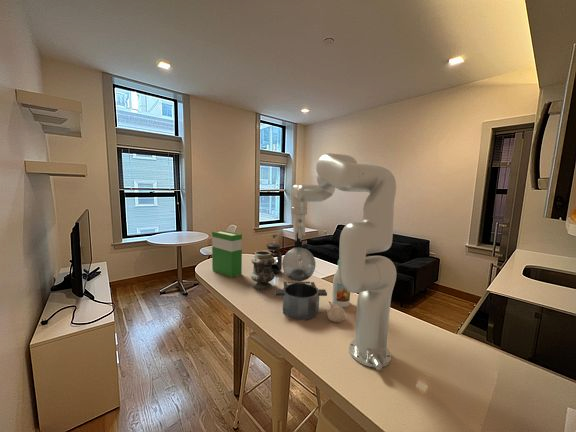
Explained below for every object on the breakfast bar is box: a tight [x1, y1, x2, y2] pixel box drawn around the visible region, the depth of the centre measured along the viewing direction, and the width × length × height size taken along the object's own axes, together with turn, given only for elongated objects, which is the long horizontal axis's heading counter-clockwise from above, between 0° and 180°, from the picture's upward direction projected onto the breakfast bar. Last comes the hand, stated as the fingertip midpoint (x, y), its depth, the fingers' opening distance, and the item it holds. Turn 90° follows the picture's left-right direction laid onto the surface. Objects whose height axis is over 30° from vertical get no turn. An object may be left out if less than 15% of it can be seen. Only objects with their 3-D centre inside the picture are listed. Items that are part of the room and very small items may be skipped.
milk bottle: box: [331, 259, 351, 308], centre depth 108 cm, size 8×8×20 cm
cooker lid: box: [282, 247, 316, 284], centre depth 111 cm, size 16×15×3 cm
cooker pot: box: [275, 281, 328, 321], centre depth 102 cm, size 16×21×9 cm
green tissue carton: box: [211, 229, 243, 278], centre depth 143 cm, size 18×7×24 cm, turn 53°
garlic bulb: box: [326, 301, 346, 323], centre depth 95 cm, size 7×6×8 cm
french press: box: [266, 234, 283, 276], centre depth 146 cm, size 12×9×23 cm
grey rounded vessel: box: [250, 250, 275, 291], centre depth 125 cm, size 12×12×18 cm
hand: (297, 248), depth 117 cm, fingers closed
